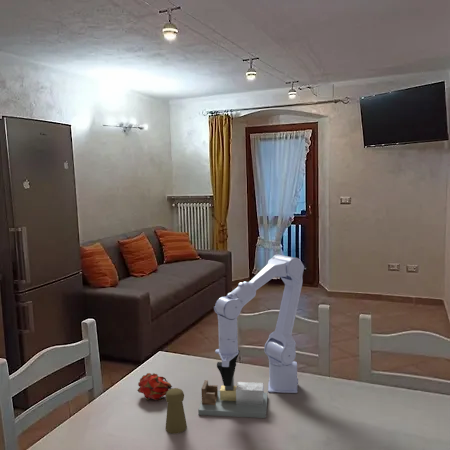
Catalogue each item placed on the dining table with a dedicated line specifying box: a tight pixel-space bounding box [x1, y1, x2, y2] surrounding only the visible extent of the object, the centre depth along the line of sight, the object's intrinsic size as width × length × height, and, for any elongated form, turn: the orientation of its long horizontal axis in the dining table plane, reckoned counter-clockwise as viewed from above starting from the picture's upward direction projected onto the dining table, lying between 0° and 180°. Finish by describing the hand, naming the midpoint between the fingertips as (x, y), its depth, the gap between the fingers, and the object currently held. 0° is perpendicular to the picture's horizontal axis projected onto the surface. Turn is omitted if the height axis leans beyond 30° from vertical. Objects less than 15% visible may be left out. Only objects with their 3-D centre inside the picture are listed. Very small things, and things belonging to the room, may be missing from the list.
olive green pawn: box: [165, 387, 188, 435], centre depth 121 cm, size 6×6×11 cm
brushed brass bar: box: [219, 373, 237, 401], centre depth 132 cm, size 12×3×7 cm, turn 82°
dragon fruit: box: [136, 372, 173, 402], centre depth 139 cm, size 8×8×12 cm
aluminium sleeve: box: [236, 381, 265, 407], centre depth 132 cm, size 8×5×5 cm, turn 82°
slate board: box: [197, 390, 268, 419], centre depth 133 cm, size 20×12×2 cm, turn 82°
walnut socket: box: [201, 379, 219, 405], centre depth 133 cm, size 4×6×5 cm
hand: (229, 379), depth 132 cm, fingers open, 7 cm apart
